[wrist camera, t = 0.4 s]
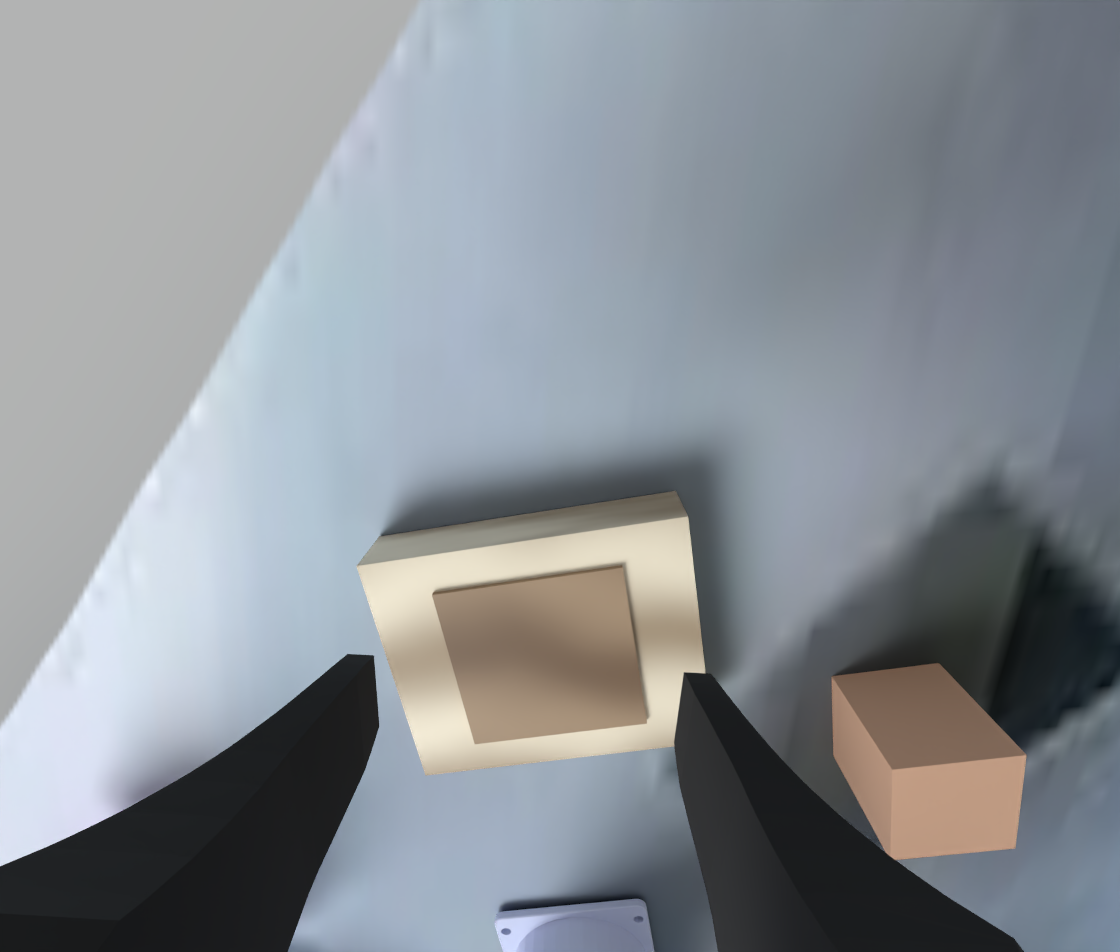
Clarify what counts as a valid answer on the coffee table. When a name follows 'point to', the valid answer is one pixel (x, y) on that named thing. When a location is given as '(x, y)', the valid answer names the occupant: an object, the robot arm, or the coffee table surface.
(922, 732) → the terracotta cube
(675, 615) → the birch base
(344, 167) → the coffee table surface
